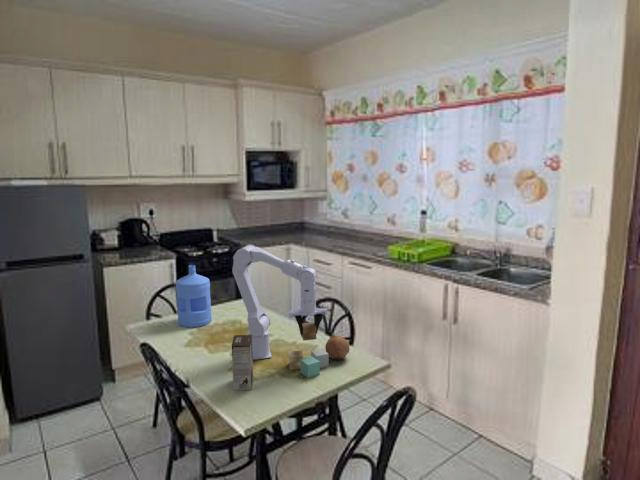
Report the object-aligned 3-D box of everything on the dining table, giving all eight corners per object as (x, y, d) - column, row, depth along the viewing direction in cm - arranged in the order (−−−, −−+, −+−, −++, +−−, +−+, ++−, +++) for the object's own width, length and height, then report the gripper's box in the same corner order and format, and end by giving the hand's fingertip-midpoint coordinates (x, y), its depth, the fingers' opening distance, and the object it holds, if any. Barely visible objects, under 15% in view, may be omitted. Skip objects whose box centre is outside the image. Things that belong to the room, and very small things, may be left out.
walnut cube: (303, 340, 166) (303, 327, 166) (301, 335, 171) (300, 323, 170) (316, 339, 168) (316, 326, 167) (313, 334, 172) (313, 322, 172)
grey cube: (316, 368, 163) (316, 356, 162) (311, 363, 167) (311, 351, 166) (328, 366, 165) (328, 353, 164) (323, 361, 169) (323, 348, 168)
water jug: (186, 316, 220) (183, 261, 216) (216, 317, 218) (214, 262, 213) (172, 327, 205) (168, 269, 200) (204, 329, 203) (201, 270, 198)
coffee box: (235, 377, 156) (233, 334, 153) (253, 377, 156) (252, 334, 154) (232, 390, 147) (230, 345, 144) (252, 389, 147) (250, 344, 145)
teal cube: (308, 378, 156) (307, 364, 155) (300, 372, 160) (300, 359, 159) (319, 374, 158) (319, 361, 157) (312, 369, 162) (312, 356, 162)
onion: (330, 362, 175) (324, 337, 177) (353, 356, 174) (346, 331, 176) (327, 364, 165) (320, 337, 168) (351, 357, 165) (344, 331, 167)
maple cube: (289, 369, 162) (289, 356, 161) (289, 363, 167) (289, 351, 166) (302, 369, 163) (302, 356, 162) (302, 363, 167) (302, 350, 167)
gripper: (291, 304, 161) (291, 339, 164) (329, 301, 165) (329, 335, 167) (288, 298, 168) (288, 332, 170) (324, 295, 171) (324, 328, 174)
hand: (308, 333), depth 169 cm, fingers closed on walnut cube, 5 cm apart
